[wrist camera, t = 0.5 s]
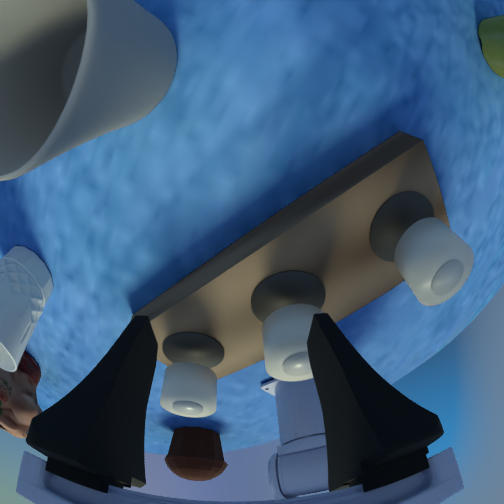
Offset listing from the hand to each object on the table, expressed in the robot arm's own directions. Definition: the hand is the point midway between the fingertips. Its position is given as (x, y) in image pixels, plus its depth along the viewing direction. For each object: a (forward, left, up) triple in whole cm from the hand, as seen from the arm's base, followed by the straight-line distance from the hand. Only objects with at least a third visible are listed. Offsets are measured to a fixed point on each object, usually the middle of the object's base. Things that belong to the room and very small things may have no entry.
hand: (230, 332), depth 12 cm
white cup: (+10, +20, -10) cm, 24 cm away
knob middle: (-6, 0, -4) cm, 8 cm away
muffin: (-29, +34, -10) cm, 46 cm away
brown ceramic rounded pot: (+7, +44, -10) cm, 45 cm away
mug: (+16, -1, -10) cm, 19 cm away
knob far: (-6, +10, -4) cm, 12 cm away
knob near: (-6, -10, -4) cm, 13 cm away
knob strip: (-6, 0, -10) cm, 12 cm away
